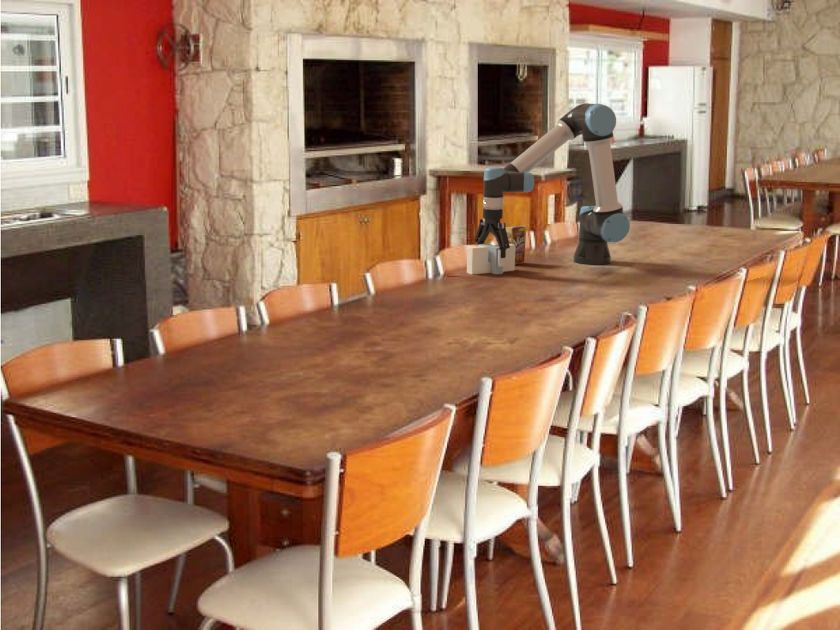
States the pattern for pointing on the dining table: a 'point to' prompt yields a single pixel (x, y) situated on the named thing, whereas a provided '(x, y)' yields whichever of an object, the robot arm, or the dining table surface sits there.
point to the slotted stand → (480, 263)
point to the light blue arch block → (493, 258)
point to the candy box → (517, 241)
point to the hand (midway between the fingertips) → (491, 263)
